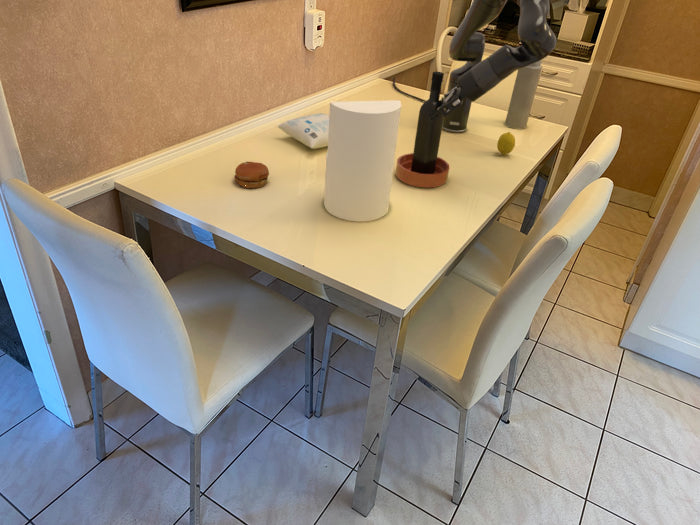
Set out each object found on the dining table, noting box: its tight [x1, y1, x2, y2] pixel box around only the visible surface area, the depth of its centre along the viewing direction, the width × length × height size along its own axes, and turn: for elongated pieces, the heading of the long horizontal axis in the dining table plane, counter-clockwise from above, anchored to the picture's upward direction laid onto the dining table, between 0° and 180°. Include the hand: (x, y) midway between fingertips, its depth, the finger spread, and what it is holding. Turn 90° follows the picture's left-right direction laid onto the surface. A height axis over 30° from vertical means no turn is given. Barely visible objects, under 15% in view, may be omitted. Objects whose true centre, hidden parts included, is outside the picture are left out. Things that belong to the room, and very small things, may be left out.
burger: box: [233, 161, 270, 189], centre depth 146 cm, size 10×9×5 cm
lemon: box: [496, 131, 516, 156], centre depth 173 cm, size 6×6×8 cm
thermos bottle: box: [504, 59, 543, 130], centre depth 193 cm, size 8×8×28 cm
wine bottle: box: [411, 71, 445, 174], centre depth 148 cm, size 6×6×30 cm
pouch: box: [276, 112, 329, 150], centre depth 172 cm, size 8×19×20 cm
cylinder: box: [323, 99, 402, 223], centre depth 132 cm, size 17×17×28 cm
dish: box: [395, 152, 450, 188], centre depth 155 cm, size 15×15×4 cm
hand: (430, 115), depth 146 cm, fingers open, 8 cm apart
